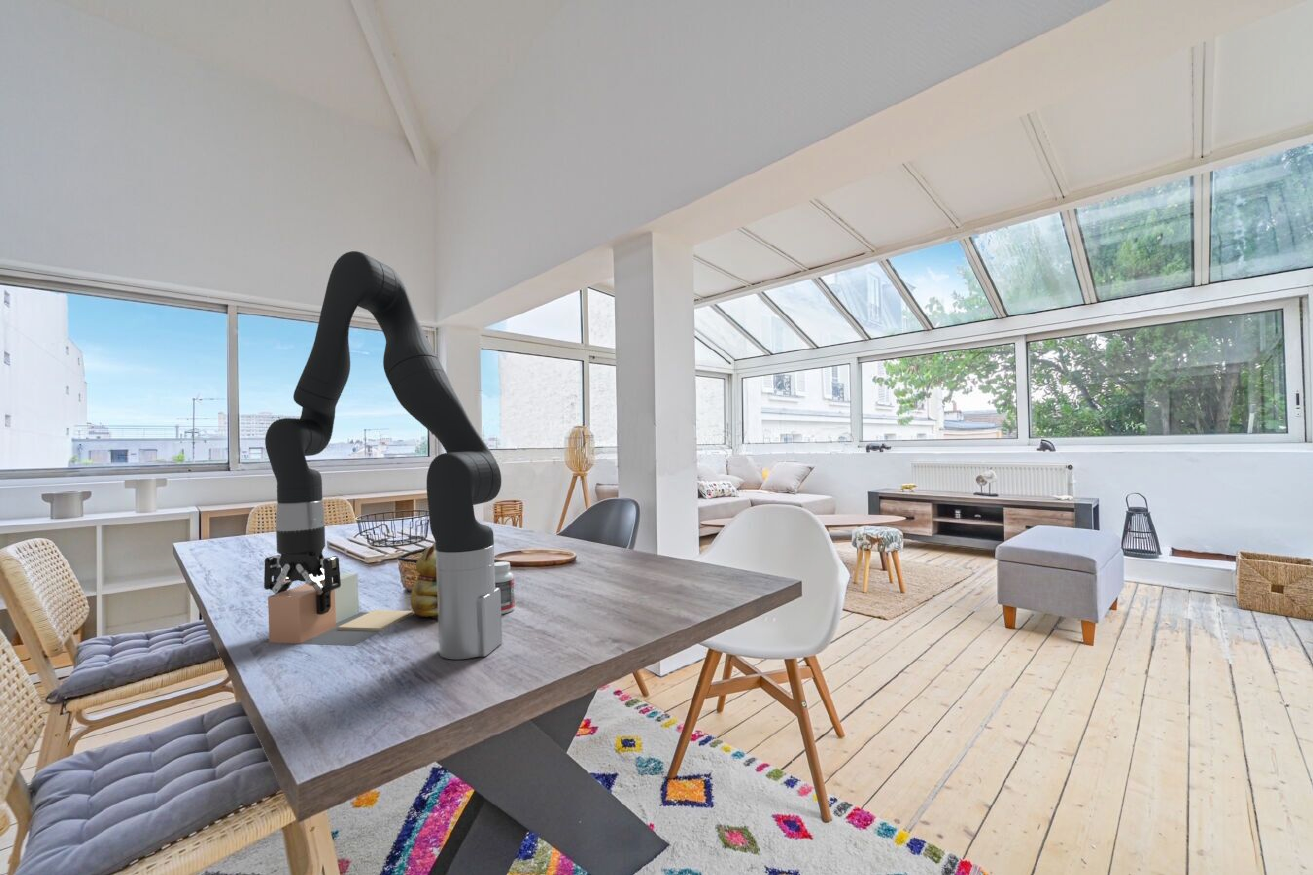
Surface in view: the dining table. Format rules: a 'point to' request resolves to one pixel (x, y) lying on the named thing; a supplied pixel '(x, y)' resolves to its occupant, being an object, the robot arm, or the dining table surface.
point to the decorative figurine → (426, 585)
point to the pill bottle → (505, 586)
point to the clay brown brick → (298, 615)
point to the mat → (358, 628)
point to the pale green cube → (346, 596)
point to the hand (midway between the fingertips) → (303, 612)
